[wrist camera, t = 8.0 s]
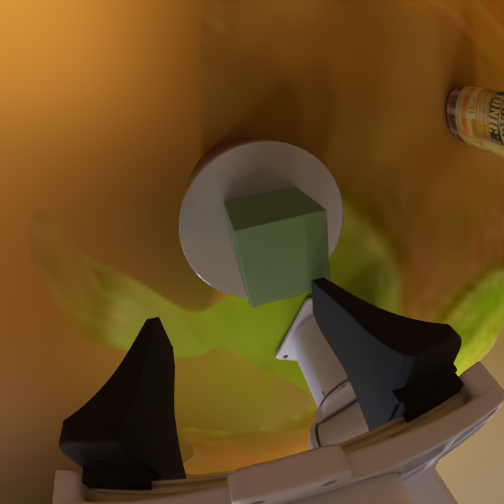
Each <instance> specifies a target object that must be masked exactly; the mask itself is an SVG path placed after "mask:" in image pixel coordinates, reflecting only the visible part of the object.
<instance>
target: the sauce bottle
mask: <svg viewBox="0 0 504 504" xmlns="http://www.w3.org/2000/svg"><path fill="white" fill-rule="evenodd" d="M447 123H448V125H449V128H450V129H451V130H452V132H453V134H454V135H455V137H456V138H458V139H459V140H461V141H463V142H465V143H467V144H469V145H471V146H474V147H477V148H480V149H483V150H485V151H488V152H491V153H493V154H496V155H499V156H501V157H504V92H503V91H498V90H493V89H488V88H482V87H476V86H467V87H463V86H460V87H456V88H454V89H453V91H452V92H451V93H450V95H449V96H448V100H447Z"/></svg>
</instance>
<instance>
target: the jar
mask: <svg viewBox="0 0 504 504" xmlns="http://www.w3.org/2000/svg"><path fill="white" fill-rule="evenodd" d="M294 186H296V187H297V188H299V189H300V190H301V191H303V192H304V193H305V194H307V195H308V196H309V197H311V198H312V199H313V200H314V201H316V202H317V203H318V204H320V205H321V206H322V207H324V208H325V209H326V210H327V226H328V245H329V257H330V256H331V254H332V252H333V251H334V249H335V247H336V244H337V242H338V239H339V236H340V233H341V229H342V222H343V205H342V198H341V194H340V190H339V188H338V185H337V183H336V181H335V179H334V177H333V176H332V174H331V172H330V171H329V170H328V168H327V167H326V166H325V165H324V164H323V163H322V162H321V161H320V160H319V159H318V158H317V157H315V156H314V155H313V154H311V153H310V152H308V151H306V150H304V149H302V148H300V147H298V146H295V145H292V144H289V143H286V142H283V141H277V140H268V139H259V138H237V139H233V140H229V141H226V142H224V143H221V144H219V145H218V146H216V147H214V148H212V149H211V150H210V151H209V152H207V153H206V154H205V155H204V156H203V157H202V158H201V159H200V160H199V162H198V163H197V164H196V166H195V167H194V169H193V171H192V173H191V175H190V178H189V180H188V184H187V188H186V191H185V194H184V197H183V199H182V204H181V208H180V216H179V236H180V241H181V245H182V249H183V252H184V254H185V257H186V259H187V260H188V262H189V264H190V266H191V267H192V268H193V270H194V271H195V272H196V273H197V275H199V276H200V277H201V278H202V279H203V280H204V281H205V282H206V283H208V284H209V285H210V286H212V287H214V288H215V289H217V290H219V291H221V292H224V293H226V294H229V295H232V296H236V297H242V298H247V295H246V291H245V288H244V285H243V282H242V279H241V276H240V273H239V270H238V267H237V262H236V258H235V253H234V249H233V244H232V240H231V235H230V231H229V226H228V222H227V217H226V212H225V208H224V202H225V201H229V200H234V199H238V198H243V197H247V196H252V195H256V194H261V193H265V192H270V191H275V190H280V189H285V188H289V187H294Z"/></svg>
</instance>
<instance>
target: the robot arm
mask: <svg viewBox="0 0 504 504" xmlns="http://www.w3.org/2000/svg"><path fill="white" fill-rule="evenodd" d="M311 283H312V297H309V298H307V299H306V300H305V302H304V304H303V306H302V308H301V309H300V311H299V313H298V315H297V317H296V319H295V321H294V323H293V324H292V326H291V328H290V330H289V332H288V334H287V335H286V337H285V339H284V341H283V343H282V344H281V346H280V348H279V350H278V352H277V353H276V357H277V358H278V359H283V360H297V361H298V363H299V365H300V368H301V370H302V372H303V375H304V377H305V379H306V382H307V384H308V386H309V389H310V391H311V393H312V395H313V398H314V400H315V402H316V405H317V407H318V409H317V410H316V411H314V412H313V415H314V417H315V420H316V422H317V423H315V424H313V425H312V426H311V428H310V432H309V446H310V450H307V451H304V452H301V453H297V454H294V455H290V456H287V457H283V458H279V459H275V460H271V461H267V462H263V463H259V464H254V465H250V466H246V467H243V468H239V469H237V470H235V471H233V472H231V473H227V474H220V475H214V476H206V477H198V478H189V479H187V478H186V474H185V470H184V466H183V462H182V457H181V453H180V448H179V442H178V436H177V429H176V422H175V414H174V380H175V379H174V378H175V364H174V354H173V347H172V345H171V343H170V341H169V338H168V336H167V334H166V332H165V330H164V328H163V325H162V323H161V321H160V319H159V317H156V318H151V319H147V320H146V322H145V323H144V325H143V327H142V328H141V330H140V332H139V334H138V336H137V337H136V339H135V341H134V343H133V344H132V346H131V348H130V350H129V351H128V353H127V355H126V356H125V358H124V360H123V361H122V362H121V364H120V365H119V367H118V369H117V370H116V371H115V372H114V374H113V375H112V376H111V378H110V379H109V380H108V382H106V384H105V385H104V386H103V387H102V388H101V389H100V390H99V392H97V393H96V394H95V396H94V397H93V398H91V399H90V400H89V401H88V402H87V403H86V404H85V405H84V406H83V407H81V408H80V409H79V410H78V411H76V412H75V413H74V414H72V415H71V416H70V417H68V418H67V419H66V420H64V421H63V426H62V430H61V436H60V441H59V448H60V450H61V451H62V452H63V454H65V455H66V456H67V457H68V458H70V459H71V460H72V461H74V462H75V463H77V464H78V465H79V466H81V467H82V468H83V474H81V473H78V472H74V471H66V470H56V476H55V484H54V495H53V496H54V497H53V504H457V502H456V500H455V499H454V497H453V495H452V494H451V492H450V491H449V489H448V488H447V486H446V484H445V483H444V481H443V480H442V478H441V477H440V475H439V474H438V472H437V471H436V469H435V467H436V465H437V463H438V461H439V460H440V459H441V458H442V457H444V456H445V455H447V454H448V453H449V452H451V451H452V450H454V449H455V448H456V447H458V446H459V445H460V444H461V443H463V442H464V441H466V440H467V439H468V438H469V437H471V436H472V435H473V434H474V433H476V432H477V431H478V430H479V429H481V428H482V427H483V426H484V425H485V424H486V423H487V422H488V421H489V420H490V419H491V418H492V416H493V415H494V414H495V413H496V412H497V410H498V409H499V408H500V407H501V405H502V404H503V403H504V390H503V388H502V387H501V386H500V385H499V384H498V382H497V381H496V380H495V379H494V378H493V376H492V375H491V374H490V373H489V372H488V370H487V369H486V368H485V367H484V366H483V365H482V364H481V362H477V363H476V364H474V365H473V366H471V367H470V368H469V369H467V370H466V371H464V372H463V373H462V374H461V375H460V376H459V377H458V376H457V374H456V373H455V372H456V371H457V368H456V367H455V365H454V364H453V363H454V361H455V359H456V356H457V354H458V352H459V350H460V347H461V337H460V336H459V335H458V334H457V332H456V331H455V330H454V329H453V328H452V327H451V326H450V325H449V324H440V323H431V322H425V321H420V320H415V319H411V318H407V317H403V316H400V315H397V314H394V313H391V312H388V311H386V310H383V309H381V308H378V307H376V306H374V305H371V304H369V303H367V302H365V301H363V300H361V299H360V298H358V297H356V296H354V295H352V294H351V293H349V292H347V291H345V290H344V289H342V288H340V287H339V286H337V285H336V284H334V283H332V282H331V281H329V280H327V279H326V278H324V277H322V278H319V279H315V280H311ZM284 355H285V356H284Z"/></svg>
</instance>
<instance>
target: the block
mask: <svg viewBox="0 0 504 504" xmlns="http://www.w3.org/2000/svg"><path fill="white" fill-rule="evenodd" d="M224 208H225V212H226V217H227V222H228V226H229V231H230V235H231V240H232V244H233V249H234V253H235V258H236V262H237V267H238V270H239V273H240V276H241V279H242V282H243V285H244V288H245V291H246V295H247V298H248V301H249V304H250V307H256V306H259V305H263V304H267V303H271V302H274V301H278V300H282V299H285V298H289V297H293V296H296V295H300V294H303V293H307V292H310V291H312V283H311V280H315V279H319V278H322V277H324V278H326V279H327V280H329V281H330V272H329V245H328V226H327V210H326V209H325V208H324V207H322V206H321V205H320V204H318V203H317V202H316V201H314V200H313V199H312V198H311V197H309V196H308V195H307V194H305V193H304V192H303V191H301V190H300V189H299V188H297V187H296V186H294V187H289V188H285V189H280V190H275V191H270V192H265V193H261V194H256V195H252V196H247V197H243V198H238V199H234V200H229V201H225V202H224Z"/></svg>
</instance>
